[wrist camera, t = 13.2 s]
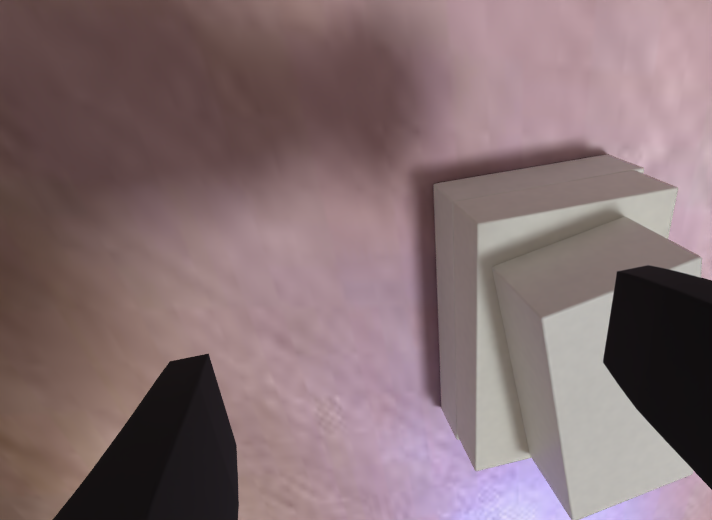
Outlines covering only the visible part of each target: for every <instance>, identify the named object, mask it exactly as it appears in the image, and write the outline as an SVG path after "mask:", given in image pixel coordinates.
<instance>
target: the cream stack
mask: <svg viewBox="0 0 712 520" xmlns="http://www.w3.org/2000/svg"><path fill="white" fill-rule="evenodd" d="M643 173H644V168H642V167H640V166H637V165H635V164H632V163H629V162H627V161H624V160H622V159H619V158H616V157H614V156H611V155H609V154H607V155H601V156H595V157H589V158H583V159H577V160H571V161H565V162H559V163H553V164H548V165H542V166H536V167H530V168H524V169H518V170H512V171H506V172H500V173H494V174H488V175H483V176H477V177H471V178H465V179H459V180H453V181H447V182H441V183H435V184H434V186H433V187H434V215H435V243H436V271H437V299H438V328H439V356H440V384H441V409H442V411H443V413H444V415H445V417H446V419H447V421H448V423H449V425H450V427H451V429H452V431H453V433H454V435H455V437H456V439H457V440H459V439H460V441H461V443H462V445H463V447H464V449H465V451H466V453H467V455H468V457H469V459H470V461H471V463H472V465H473V467H474V469H475V471H480V470H484V469H488V468H492V467H496V466H500V465H504V464H508V463H512V462H516V461H520V460H524V459H528V458H532V457H531V456H530V454H529V449H528V444H527V439H526V434H525V429H524V424H523V419H522V414H521V409H520V404H519V399H518V394H517V389H516V385H515V380H514V375H513V370H512V365H511V360H510V355H509V350H508V345H507V340H506V335H505V330H504V325H503V320H502V315H501V311H500V306H499V301H498V296H497V291H496V286H495V281H494V276H493V271H492V267H493V266H495V265H498V264H501V263H503V262H506V261H508V260H511V259H514V258H516V257H519V256H522V255H524V254H527V253H530V252H532V251H535V250H537V249H540V248H543V247H545V246H548V245H551V244H553V243H556V242H559V241H561V240H564V239H566V238H569V237H572V236H574V235H577V234H580V233H582V232H585V231H588V230H590V229H593V228H595V227H598V226H601V225H603V224H606V223H609V222H611V221H614V220H616V219H619V218H622V217H627V218H629V219H631V220H633V221H635V222H637V223H639V224H641V225H642V226H644V227H646V228H648V229H650V230H652V231H654V232H656V233H657V234H659V235H661V236H663V237H665V238H667V239H668V236H669V231H670V226H671V221H672V216H673V211H674V206H675V202H676V197H677V192H678V188H677V187H675V186H673V185H670V184H668V183H665V182H663V181H660V180H658V179H655V178H653V177H650V176H648V175H645V174H643Z"/></svg>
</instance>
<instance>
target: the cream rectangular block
mask: <svg viewBox="0 0 712 520" xmlns="http://www.w3.org/2000/svg"><path fill="white" fill-rule="evenodd" d="M646 265H650V266H655V267H660V268H665V269H669V270H674V271H678V272H682V273H686V274H689V275H693V276H697V277H700V278H701V267H702V258H701V257H700V256H699V255H697V254H695V253H693V252H691V251H689V250H687V249H686V248H684V247H682V246H680V245H678V244H676V243H674V242H672V241H671V240H669V239H667V238H665V237H663V236H661V235H659V234H657V233H656V232H654V231H652V230H650V229H648V228H646V227H644V226H642V225H641V224H639V223H637V222H635V221H633V220H631V219H629V218H627V217H622V218H619V219H616V220H614V221H611V222H609V223H606V224H603V225H601V226H598V227H595V228H593V229H590V230H588V231H585V232H582V233H580V234H577V235H574V236H572V237H569V238H566V239H564V240H561V241H559V242H556V243H553V244H551V245H548V246H545V247H543V248H540V249H537V250H535V251H532V252H530V253H527V254H524V255H522V256H519V257H516V258H514V259H511V260H508V261H506V262H503V263H501V264H498V265H495V266H493V267H492V271H493V276H494V281H495V286H496V291H497V296H498V301H499V306H500V311H501V315H502V320H503V325H504V330H505V335H506V340H507V345H508V350H509V355H510V360H511V365H512V370H513V375H514V380H515V385H516V389H517V394H518V399H519V404H520V409H521V414H522V419H523V424H524V429H525V434H526V439H527V444H528V449H529V454H530V456H531V457H532V459H533V461H534V462H535V464H536V465H537V467H538V468H539V470H540V471H541V473H542V475H543V476H544V478H545V479H546V481H547V482H548V484H549V486H550V487H551V489H552V490H553V492H554V493H555V495H556V496H557V498H558V500H559V501H560V503H561V504H562V506H563V507H564V509H565V510H566V512H567V514H568V515H569V517H570V518H571V520H579V519H582V518H584V517H587V516H589V515H592V514H594V513H597V512H599V511H602V510H604V509H607V508H609V507H612V506H614V505H617V504H619V503H622V502H624V501H627V500H629V499H632V498H634V497H637V496H639V495H642V494H644V493H647V492H649V491H652V490H654V489H657V488H659V487H662V486H664V485H667V484H670V483H672V482H675V481H677V480H680V479H682V478H685V477H687V476H690V475H692V474H693V469H692V468H691V467H690V466H689V465H688V464H687V463H686V462H685V461H684V460H683V459H682V458H681V457H680V456H679V455H678V453H677V452H676V451H675V450H674V449H673V448H672V447H671V446H670V445H669V444H668V443H667V442H666V441H665V440H664V439H663V437H662V436H661V435H660V434H659V433H658V432H657V431H656V430H655V429H654V428H653V427H652V426H651V425H650V423H649V422H648V421H647V420H646V419H645V418H644V417H643V416H642V415H641V414H640V412H639V411H638V410H637V409H636V408H635V406H634V405H633V404H632V402H631V401H630V400H629V398H628V397H627V396H626V395H625V393H624V392H623V391H622V389H621V388H620V386H619V385H618V384H617V382H616V381H615V379H614V378H613V376H612V375H611V373H610V372H609V370H608V369H607V368H606V366H605V365H604V363H603V358H604V351H605V345H606V339H607V332H608V326H609V319H610V313H611V307H612V300H613V294H614V287H615V281H616V275H617V271H622V270H627V269H632V268H637V267H642V266H646Z"/></svg>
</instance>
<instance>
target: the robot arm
mask: <svg viewBox="0 0 712 520" xmlns="http://www.w3.org/2000/svg"><path fill="white" fill-rule="evenodd" d="M603 363H604V365H605V366H606V368H607V369H608V370H609V372H610V373H611V375H612V376H613V378H614V379H615V381H616V382H617V384H618V385H619V386H620V388H621V389H622V391H623V392H624V393H625V395H626V396H627V397H628V398H629V400H630V401H631V402H632V404H633V405H634V406H635V408H636V409H637V410H638V411H639V412H640V414H641V415H642V416H643V417H644V418H645V419H646V420H647V421H648V422H649V423H650V425H651V426H652V427H653V428H654V429H655V430H656V431H657V432H658V433H659V434H660V435H661V436H662V437H663V439H664V440H665V441H666V442H667V443H668V444H669V445H670V446H671V447H672V448H673V449H674V450H675V451H676V452H677V453H678V455H679V456H680V457H681V458H682V459H683V460H684V461H685V462H686V463H687V464H688V465H689V466H690V467H691V468H692V469H693V470H694V471H695V472H696V473H697V475H698V476H699V477H700V478H701V479H702V480H703V481H704V482H705V483H706V484H707V485H708V486H709V487H710V488H711V489H712V281H711V280H708V279H704V278H700V277H697V276H693V275H689V274H686V273H682V272H678V271H674V270H669V269H665V268H660V267H655V266H650V265H646V266H642V267H637V268H632V269H627V270H622V271H617V275H616V281H615V287H614V294H613V300H612V307H611V313H610V319H609V326H608V332H607V339H606V345H605V351H604V358H603ZM238 506H239V502H238V472H237V451H236V442H235V439H234V436H233V433H232V429H231V426H230V423H229V419H228V416H227V413H226V410H225V406H224V403H223V400H222V396H221V393H220V390H219V387H218V383H217V380H216V377H215V373H214V370H213V367H212V364H211V360H210V357H209V354H205V355H200V356H195V357H190V358H185V359H180V360H175V361H170V362H169V364H168V365H167V366H166V368H165V369H164V370H163V372H162V373H161V374H160V376H159V377H158V378H157V380H156V381H155V383H154V384H153V386H152V387H151V388H150V390H149V391H148V393H147V394H146V396H145V397H144V398H143V400H142V401H141V403H140V404H139V406H138V407H137V408H136V410H135V411H134V413H133V414H132V416H131V417H130V418H129V420H128V421H127V423H126V424H125V426H124V427H123V428H122V430H121V431H120V432H119V434H118V435H117V437H116V438H115V439H114V441H113V442H112V443H111V445H110V446H109V447H108V449H107V450H106V452H105V453H104V454H103V456H102V457H101V458H100V460H99V461H98V462H97V464H96V465H95V466H94V468H93V469H92V471H91V472H90V473H89V475H88V476H87V477H86V478H85V480H84V481H83V482H82V484H81V485H80V486H79V488H78V489H77V490H76V491H75V493H74V494H73V495H72V496H71V498H70V499H69V500H68V501H67V503H66V504H65V505H64V506H63V508H62V509H61V510H60V511H59V512H58V514H57V515H56V516H55V517H54V519H53V520H238Z"/></svg>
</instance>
